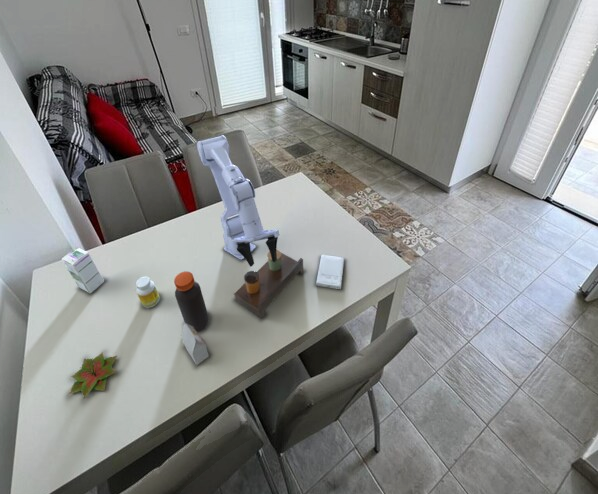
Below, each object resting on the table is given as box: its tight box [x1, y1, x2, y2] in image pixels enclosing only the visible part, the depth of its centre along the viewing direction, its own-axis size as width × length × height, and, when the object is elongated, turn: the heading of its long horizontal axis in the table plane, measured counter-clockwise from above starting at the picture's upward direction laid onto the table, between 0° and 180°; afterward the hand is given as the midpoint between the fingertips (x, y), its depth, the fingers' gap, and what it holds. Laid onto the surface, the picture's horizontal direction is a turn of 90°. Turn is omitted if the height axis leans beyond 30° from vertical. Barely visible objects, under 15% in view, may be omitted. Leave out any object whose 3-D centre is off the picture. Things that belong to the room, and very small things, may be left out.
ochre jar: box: [243, 270, 260, 294], centre depth 104 cm, size 5×5×6 cm
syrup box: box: [61, 246, 105, 294], centre depth 108 cm, size 6×6×14 cm
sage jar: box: [267, 249, 282, 271], centre depth 111 cm, size 5×5×6 cm
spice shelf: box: [233, 252, 304, 319], centre depth 109 cm, size 11×22×6 cm, turn 144°
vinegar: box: [173, 271, 210, 333], centre depth 94 cm, size 7×7×20 cm
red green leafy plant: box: [67, 351, 118, 400], centre depth 86 cm, size 12×12×5 cm
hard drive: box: [315, 254, 345, 290], centre depth 114 cm, size 2×8×12 cm
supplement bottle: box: [135, 276, 160, 309], centre depth 104 cm, size 5×5×10 cm
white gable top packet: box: [180, 322, 210, 366], centre depth 90 cm, size 4×7×10 cm, turn 42°
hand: (263, 262), depth 101 cm, fingers open, 7 cm apart
